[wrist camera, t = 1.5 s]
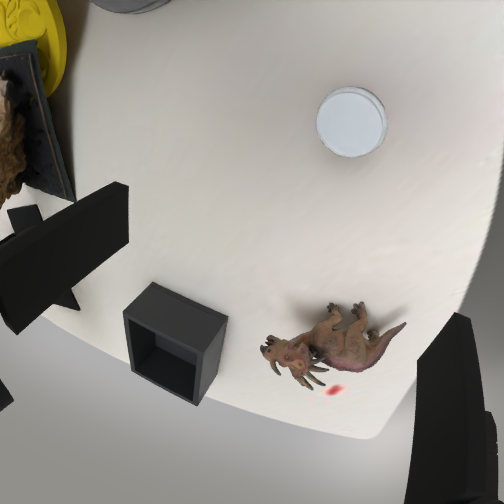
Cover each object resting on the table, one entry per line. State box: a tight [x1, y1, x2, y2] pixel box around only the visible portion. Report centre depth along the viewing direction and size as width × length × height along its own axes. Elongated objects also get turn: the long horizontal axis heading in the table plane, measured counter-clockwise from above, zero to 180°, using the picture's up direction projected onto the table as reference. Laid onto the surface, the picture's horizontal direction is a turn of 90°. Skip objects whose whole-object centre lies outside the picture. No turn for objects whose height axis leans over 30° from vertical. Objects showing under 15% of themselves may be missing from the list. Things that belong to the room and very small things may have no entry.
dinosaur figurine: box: [260, 302, 406, 390], centre depth 31 cm, size 14×6×9 cm, turn 103°
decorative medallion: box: [0, 0, 67, 105], centre depth 25 cm, size 24×24×2 cm
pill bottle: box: [316, 87, 388, 157], centre depth 21 cm, size 5×5×8 cm
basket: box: [123, 282, 228, 406], centre depth 43 cm, size 14×12×7 cm
